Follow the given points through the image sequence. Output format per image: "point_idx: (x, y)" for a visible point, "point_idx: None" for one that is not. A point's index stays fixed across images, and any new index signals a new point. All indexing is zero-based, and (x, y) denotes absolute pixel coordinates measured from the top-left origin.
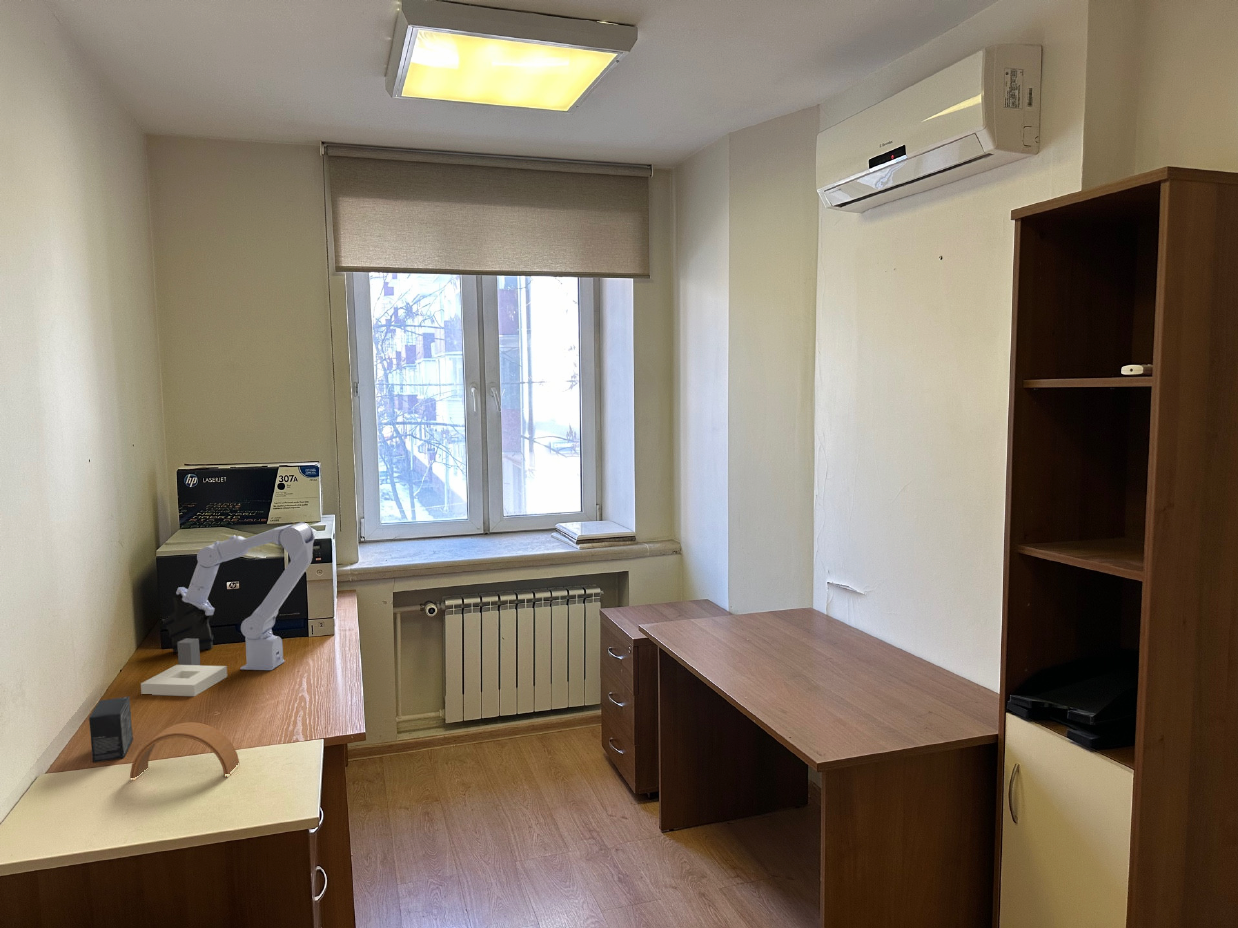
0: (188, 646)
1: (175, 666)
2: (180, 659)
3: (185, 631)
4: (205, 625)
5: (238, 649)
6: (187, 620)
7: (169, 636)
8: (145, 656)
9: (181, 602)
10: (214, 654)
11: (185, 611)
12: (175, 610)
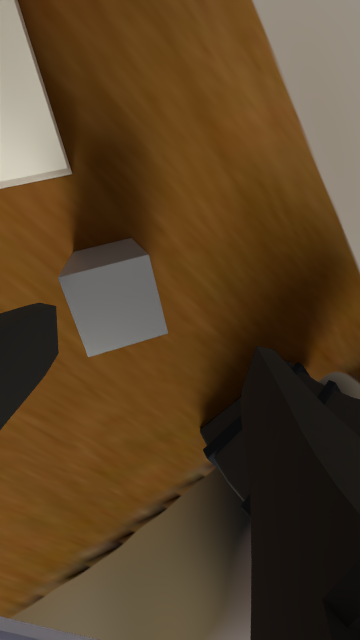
0: (74, 268)
1: (44, 139)
2: (125, 245)
3: None
4: (245, 492)
5: (112, 466)
6: None
7: (332, 383)
8: (346, 304)
9: (313, 551)
10: (147, 404)
11: (250, 469)
12: (313, 406)
